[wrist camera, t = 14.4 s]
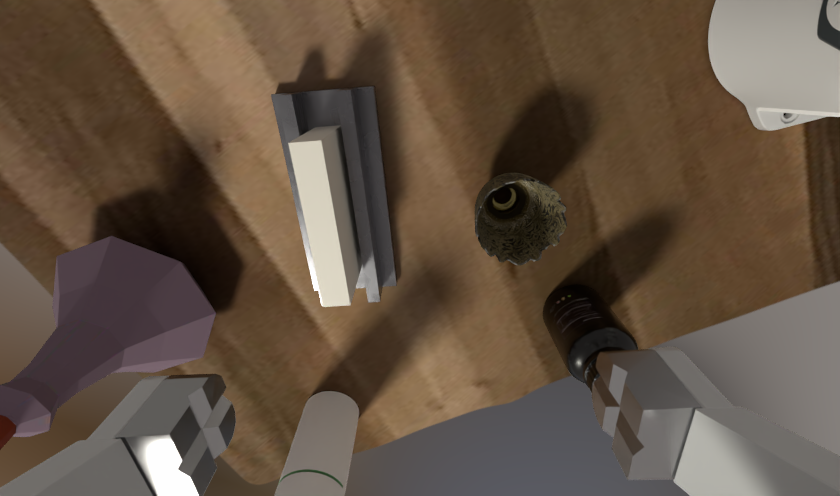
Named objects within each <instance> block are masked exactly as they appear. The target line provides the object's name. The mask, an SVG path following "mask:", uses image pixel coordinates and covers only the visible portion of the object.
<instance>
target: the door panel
mask: <svg viewBox="0 0 840 496" xmlns="http://www.w3.org/2000/svg"><path fill="white" fill-rule="evenodd" d="M288 144H289V149H290V154H291V159H292V163H293V168H294V173H295V177H296V182H297V187H298V191H299V196H300V201H301V205H302V210H303V215H304V220H305V224H306V229H307V234H308V238H309V243H310V248H311V252H312V257H313V262H314V267H315V271H316V276H317V281H318V285H319V290H320V295H321V299H322V304H323V307H331V306H347V305H351V302H352V298H353V295H354V292H355V288H356V285H357V281H358V278H359V275H360V271H361V268H362V258H361V252H360V245H359V239H358V232H357V226H356V219H355V213H354V206H353V200H352V193H351V187H350V180H349V174H348V167H347V161H346V154H345V148H344V141H343V135H342V128H341V125H338V126H325V127H315V128H313V129H312V130H310V131H308V132H306V133H305V134H303V135H301V136H299V137H298V138H296V139H294V140H292V141H291V142H289V143H288Z"/></svg>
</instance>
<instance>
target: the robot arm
mask: <svg viewBox="0 0 840 496" xmlns="http://www.w3.org/2000/svg"><path fill="white" fill-rule="evenodd" d="M708 49H709V56H710V61H711V65H712V68H713V70H714V73H715V75H716V77H717V78H718V80H719V82H720V83H721V84H722V86H723V87H724V88H725V89H726V90H727V91H728V92H729V93H731V94H732V95H733V96H735V97H736V98H738V99H739V100H740V101H741V102H742V103H743V104H744V105H745V106H746V108H747V111H748V114H749V116H750V119H751V121H752V123H753V124H754V126H755V127H756V128H757V129H759V130H770V131H771V130H777V129H781V128H785V127H789V126H793V125H797V124H801V123H804V122H808V121H812V120H816V119H820V118H824V117H828V116H833V117H840V0H716V1H715V4H714V8H713V11H712V15H711V19H710V25H709V33H708ZM784 113H786V114H785V116H783V114H784ZM596 368H597V370H598V372H599V374H600V375H601V376H600V377H599V378H598V379H597V380H596V381H595V382H594V383H593V390H592V400H593V407H594V411H595V414H596V417H597V420H598V422H599V424H600V426H601V428H602V430H604V431H605V432H606V433H608V434H609V435H610V436H612V437H613V438H614V439H613V445H612V450H613V452H614V454H615V456H616V458H617V460H618V462H619V464H620V466H621V468H622V470H623V472H624V473H625V476H626V477H627V480H650V479H651V480H655V479H674V482H675V483H676V484H677V485H678V486H679V487H681V488H682V489H683V490H684V491H685V492H686V493H688V494H689V495H690V496H840V456H839V455H837V454H835V453H833V452H831V451H828V450H827V449H825V448H823V447H821V446H819V445H817V444H815V443H813V442H811V441H809V440H807V439H805V438H803V437H801V436H799V435H797V434H795V433H793V432H791V431H790V430H788V429H785V428H784V427H782V426H780V425H778V424H776V423H774V422H772V421H770V420H768V419H766V418H764V417H762V416H760V415H758V414H756V413H754V412H752V411H750V410H748V409H746V408H744V407H734V406H733V405H732V404H731V403H730V402H729V401H728V400H727V399H726V398H725V397H724V396H723V394H722V393H721V392H720V391H719V390H718V389H717V388H716V387H715V386H714V385H713V384H712V383H711V382H710V381H709V379H708V378H707V377H706V376H705V375H704V374H703V373H702V372H701V371H700V370H699V369H698V368H697V367H696V365H694V363H693V362H692V361H691V360H690V359H689V358H688V357H687V356H686V355H685V354H684V353H683V352H682V350H680V349H678V348H676V347H662V348H649V349H639V350H624V351H608V352H600V353H599V355H598V357H597V361H596ZM225 389H226V386H225V383H224V381H223V379H222V376H220V375H217V374H194V375H171V376H149V377H147V378H145V379H142V380H141V381H140V382H139V383H138V384H137V385H136V386H135V387H134V388H133V389H132V390H131V392H130V393H129V394H128V395H127V396H126V397H125V398H124V399H123V400H122V402H121V403H120V404H119V405H118V406H117V407H116V408H115V409H114V410H113V412H112V413H111V414H110V415H109V416H108V417H107V418H106V419H105V420H104V421H103V423H102V424H101V425H100V426H99V427H98V428H97V429H96V430H95V431H94V432H93V433H92V435H91V436H90V437H89V438H88V439H87V440H84V441H77V442H76V443H74V444H72V445H71V446H69V447H67V448H66V449H64V450H63V451H61V452H59V453H57V454H56V455H54V456H52V457H51V458H49V459H48V460H46V461H44V462H43V463H41V464H39V465H38V466H36V467H34V468H32V469H31V470H29V471H27V472H26V473H24V474H23V475H21V476H19V477H18V478H16V479H14V480H12V481H11V482H9V483H7V484H6V485H4V486H2V487H1V488H0V496H203V494H204V492H205V490H206V489H207V486H208V485H209V482H210V481H211V479H212V477H213V475H214V473H215V471H216V469H217V466H216V461H215V458H216V457H217V456H218V455H220V454H221V453H222V452H223V451H224V450H226V449H227V447H228V445H229V443H230V441H231V439H232V437H233V433H234V428H235V423H236V418H235V410H234V407H233V404H232V402H230V401H229V400H228V399H226V398H225V397H224V396H222V395H223V393H224V391H225Z"/></svg>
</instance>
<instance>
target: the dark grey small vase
mask: <svg viewBox="0 0 840 496" xmlns="http://www.w3.org/2000/svg"><path fill="white" fill-rule="evenodd" d="M503 188H507V189H509V191H510V192H511V198H510V199H509V201H508V202H506V203H498V202H497V201H496V200H495V194H496V192H497V191H499V190H500V189H503ZM560 199H561V197H560V195H559V193H558V192H557V191H555V190H554V189H553V188H552V187H550V186H549V185H547V184H545V183H543V182H541V181H539V180H537V179H535V178H533V177H531V176H528V175H525V174H521V173H505V174H501V175H499V176H496V177H494V178H493V179H491V180H490V181H489V182H487V183H486V184H485V185H484V187H483V188H482V189H481V191H480V193H479V195H478V197H477V200H476V204H475V232H476V236H478V240H479V242H480V245H481V247H482V248H483V249H484V250H485V251H486V252H487V254H488V255H489V256H491V257H492V256H494V255H496V256H497V258H498V260H499V261H500V262H504V261H506V260H508V261H510V262H511V263H513V264H516V265H523V264H525V263H526V262H528V261H529V260H532V261H538V260H540V259H541V255H540V252H541V251H542V250H545V249H547V247H548V246H549V245H550V244H552V245H553V246H556V245H557V244H558V243H559V240H560V239H559V235H561V234H563V232H564V231H565V229H566V227H567V223H566V218H565V216H564V213H563V211H564V212H565V211H566V206H565V205H564V204H562V203H561V202H560V201H559V200H560ZM541 254H542V253H541Z"/></svg>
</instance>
